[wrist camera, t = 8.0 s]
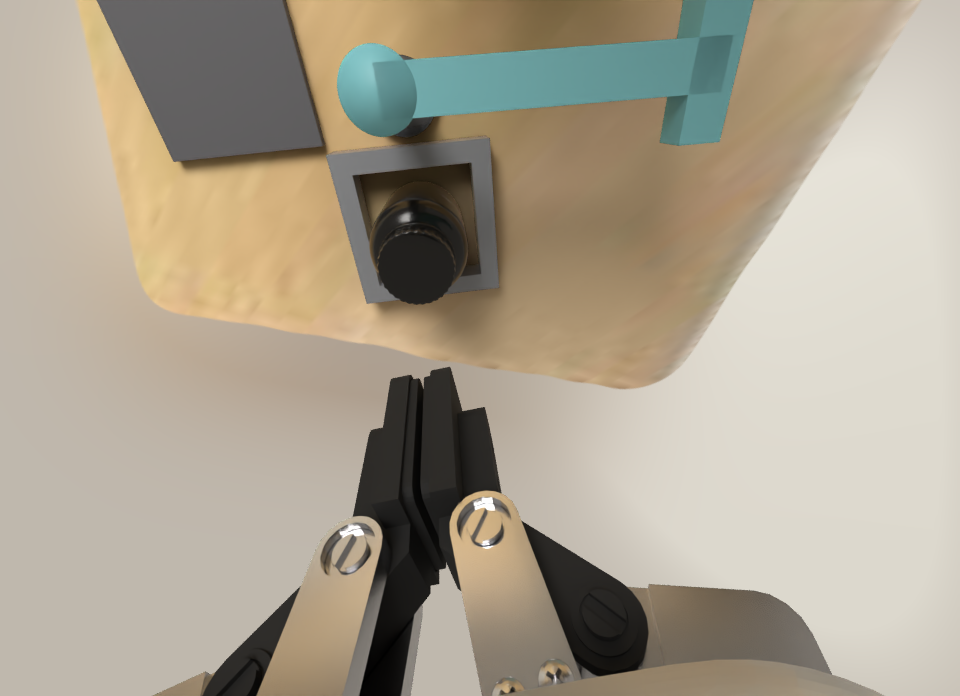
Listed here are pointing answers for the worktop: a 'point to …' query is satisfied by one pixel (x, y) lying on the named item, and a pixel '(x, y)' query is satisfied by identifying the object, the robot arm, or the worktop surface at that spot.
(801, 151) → the worktop surface
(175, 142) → the rubber mat
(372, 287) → the bottle holder
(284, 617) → the robot arm
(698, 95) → the latch bar
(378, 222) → the supplement bottle
